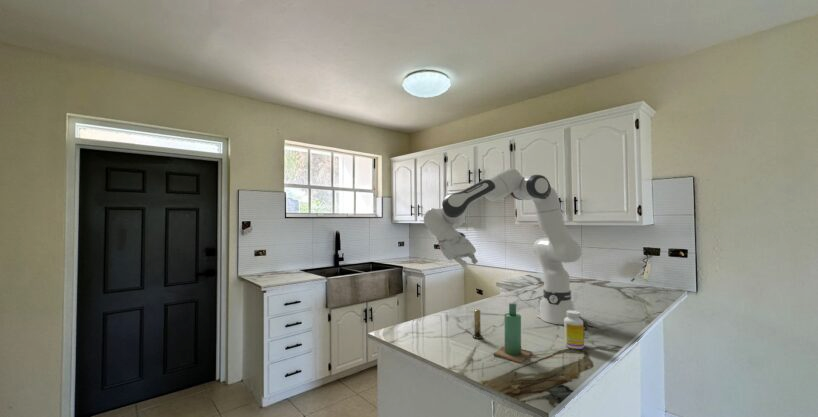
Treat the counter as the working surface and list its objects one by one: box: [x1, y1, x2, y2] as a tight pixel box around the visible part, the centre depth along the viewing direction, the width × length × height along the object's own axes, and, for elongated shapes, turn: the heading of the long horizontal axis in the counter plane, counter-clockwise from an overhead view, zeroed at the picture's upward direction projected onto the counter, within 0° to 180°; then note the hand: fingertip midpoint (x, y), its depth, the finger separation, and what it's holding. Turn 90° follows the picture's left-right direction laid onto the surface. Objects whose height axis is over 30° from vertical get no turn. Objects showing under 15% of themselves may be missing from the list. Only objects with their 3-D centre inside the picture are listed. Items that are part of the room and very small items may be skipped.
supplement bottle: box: [563, 310, 585, 350], centre depth 125 cm, size 7×7×13 cm
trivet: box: [493, 345, 533, 364], centre depth 117 cm, size 10×10×1 cm
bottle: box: [504, 302, 522, 356], centre depth 118 cm, size 6×6×17 cm
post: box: [472, 308, 483, 340], centre depth 135 cm, size 4×4×11 cm
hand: (470, 264), depth 135 cm, fingers open, 8 cm apart
